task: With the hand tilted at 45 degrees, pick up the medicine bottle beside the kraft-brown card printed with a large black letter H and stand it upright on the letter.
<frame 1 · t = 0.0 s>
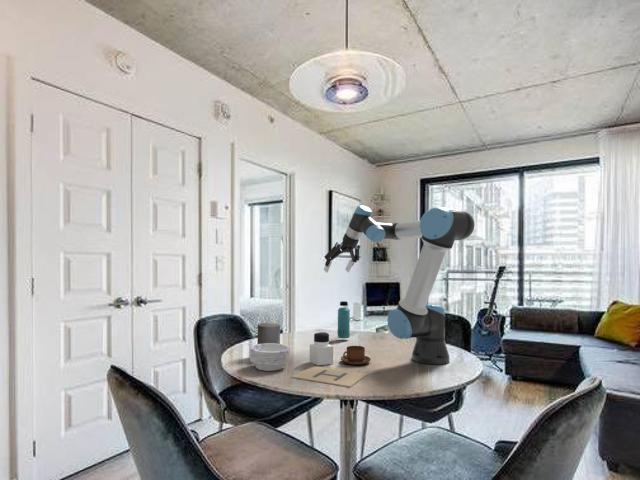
hand: (336, 270, 198), 36 cm above the table, tool tilted 35°, fingers open, 13 cm apart
cup and saucer: (355, 363, 159), on the table
paper bowls: (269, 368, 150), on the table
medicine bottle: (321, 363, 158), on the table
letter card: (330, 376, 140), on the table
beverage bottle: (343, 340, 204), on the table
pillar candle: (268, 357, 167), on the table
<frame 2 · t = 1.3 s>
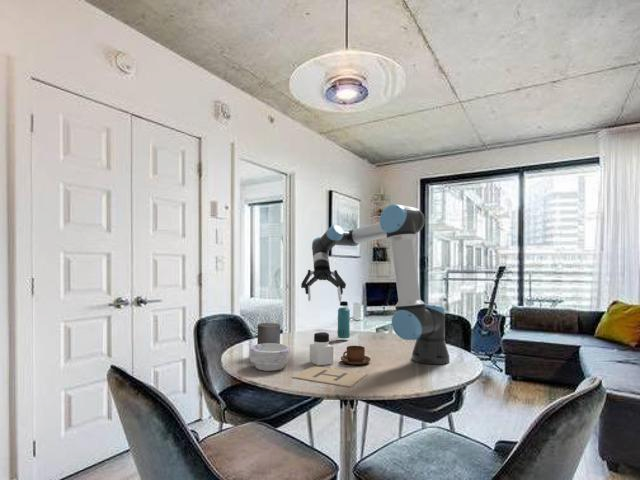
hand: (325, 299, 173), 24 cm above the table, tool tilted 45°, fingers open, 13 cm apart
nothing on the table moved.
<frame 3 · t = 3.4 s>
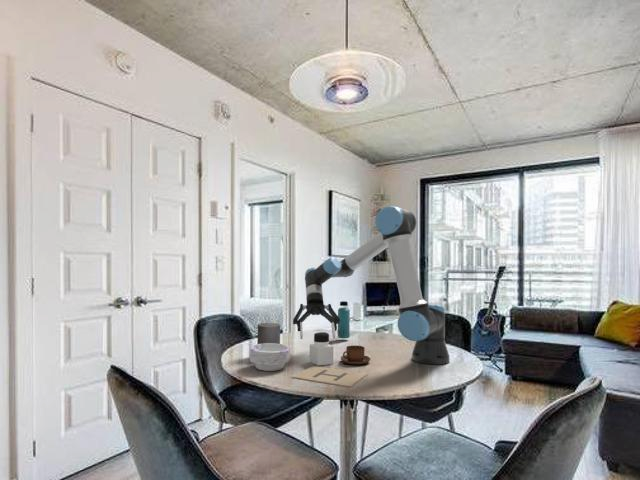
hand: (317, 337, 163), 9 cm above the table, tool tilted 45°, fingers open, 13 cm apart
nothing on the table moved.
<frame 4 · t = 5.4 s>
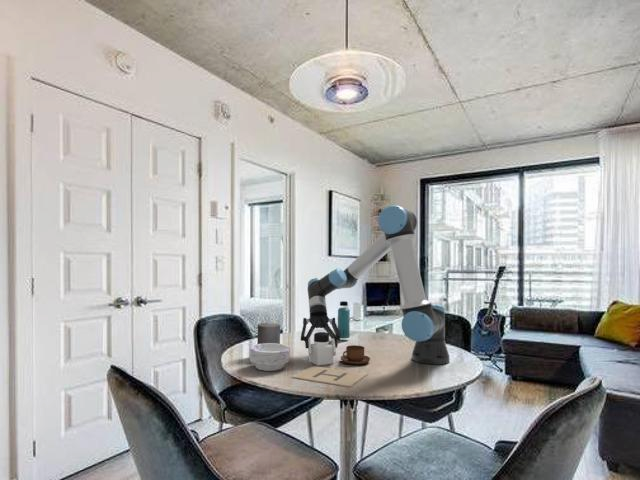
hand: (322, 354, 155), 4 cm above the table, tool tilted 45°, fingers closed on medicine bottle, 9 cm apart
medicine bottle: (321, 363, 158), on the table, touching gripper
everything else where it was.
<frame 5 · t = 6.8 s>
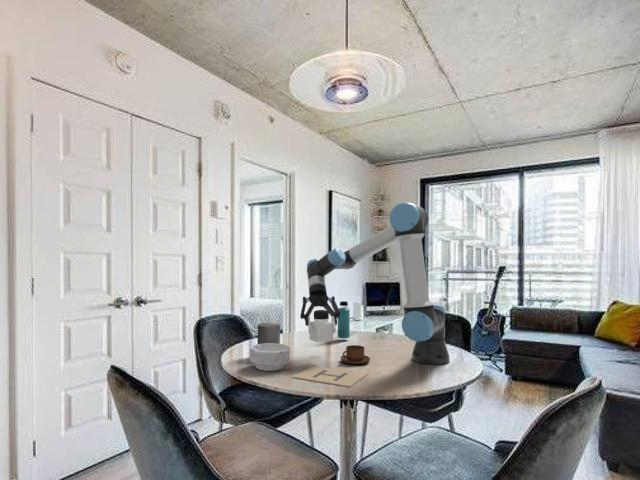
hand: (322, 331, 156), 13 cm above the table, tool tilted 45°, fingers closed on medicine bottle, 9 cm apart
medicine bottle: (321, 340, 159), point 9 cm above the table, touching gripper
everything else where it was.
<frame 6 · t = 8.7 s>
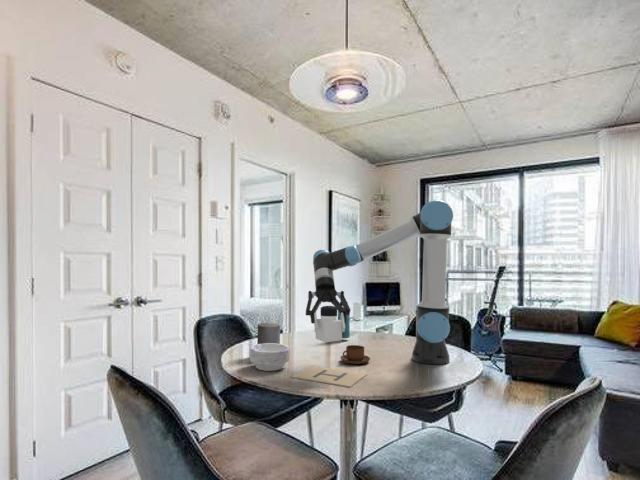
hand: (330, 329, 139), 17 cm above the table, tool tilted 45°, fingers closed on medicine bottle, 9 cm apart
medicine bottle: (328, 340, 142), point 12 cm above the table, touching gripper
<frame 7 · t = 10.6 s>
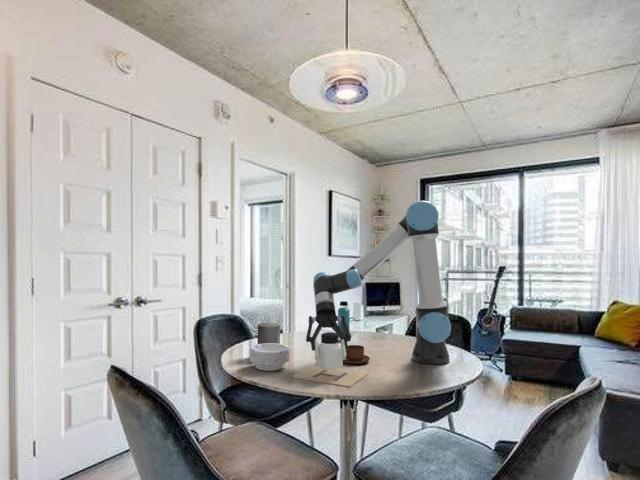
hand: (330, 357, 137), 7 cm above the table, tool tilted 45°, fingers closed on medicine bottle, 9 cm apart
medicine bottle: (329, 367, 140), point 3 cm above the table, touching gripper
when the fingers open (5 cm above the table, at t = 11.5 s): medicine bottle stays where it is, resting on letter card.
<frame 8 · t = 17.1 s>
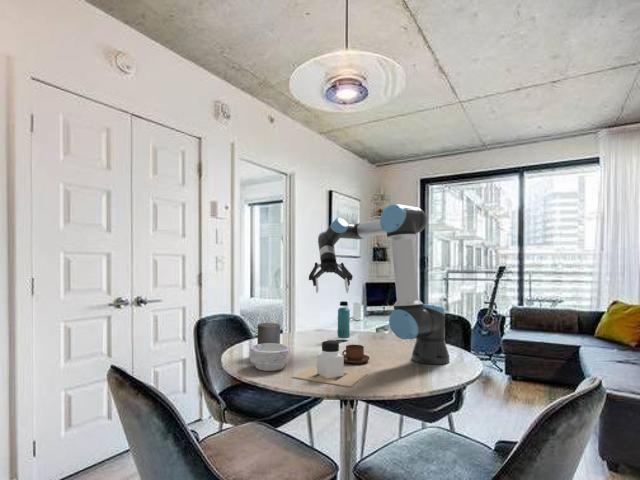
hand: (332, 290, 175), 28 cm above the table, tool tilted 45°, fingers open, 13 cm apart
medicine bottle: (330, 375, 140), resting on letter card
at the end: medicine bottle inside the target area on the letter card (0.1 cm from its centre), point 0.2 cm above the letter card's base; medicine bottle tilted 0°; medicine bottle touching letter card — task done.
